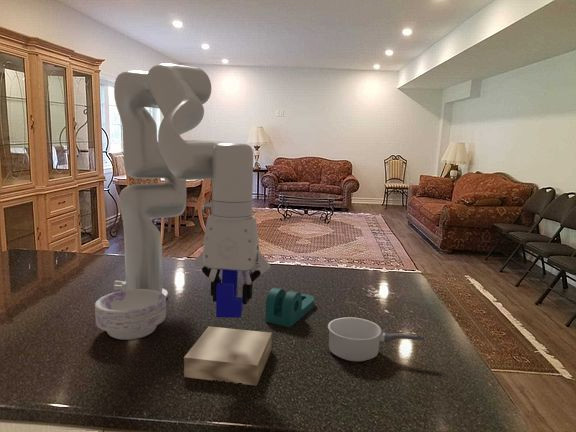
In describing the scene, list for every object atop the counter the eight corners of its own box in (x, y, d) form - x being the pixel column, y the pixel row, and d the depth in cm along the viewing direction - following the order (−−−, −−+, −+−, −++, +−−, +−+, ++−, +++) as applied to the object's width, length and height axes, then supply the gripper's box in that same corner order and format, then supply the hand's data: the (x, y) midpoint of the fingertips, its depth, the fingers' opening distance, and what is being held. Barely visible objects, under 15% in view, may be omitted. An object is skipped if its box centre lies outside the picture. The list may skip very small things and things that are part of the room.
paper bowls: (113, 316, 109) (112, 286, 107) (174, 319, 108) (174, 288, 107) (83, 345, 94) (81, 310, 92) (153, 348, 93) (153, 313, 92)
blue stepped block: (240, 317, 80) (241, 286, 79) (216, 317, 80) (216, 285, 79) (244, 294, 92) (245, 266, 91) (222, 294, 92) (223, 266, 90)
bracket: (289, 328, 106) (291, 297, 105) (265, 322, 109) (266, 292, 107) (317, 304, 122) (319, 277, 121) (295, 299, 125) (296, 273, 123)
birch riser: (184, 377, 83) (183, 357, 82) (208, 343, 96) (208, 326, 96) (256, 385, 81) (257, 365, 80) (271, 350, 94) (271, 332, 94)
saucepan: (423, 375, 86) (426, 349, 85) (323, 361, 91) (324, 335, 90) (419, 348, 97) (421, 325, 96) (329, 337, 102) (331, 314, 101)
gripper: (181, 209, 80) (182, 303, 84) (273, 215, 78) (270, 311, 81) (196, 204, 88) (196, 290, 91) (280, 208, 85) (277, 297, 88)
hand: (231, 299), depth 86 cm, fingers closed on blue stepped block, 5 cm apart
